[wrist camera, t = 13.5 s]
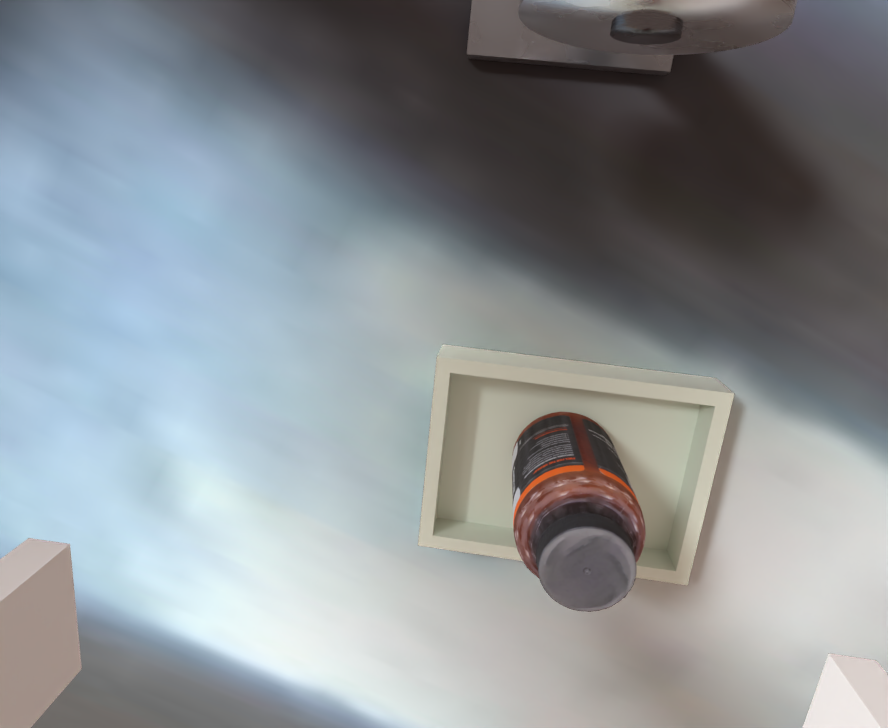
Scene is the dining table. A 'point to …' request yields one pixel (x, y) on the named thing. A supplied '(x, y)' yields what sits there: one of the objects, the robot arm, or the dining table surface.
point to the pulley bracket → (619, 31)
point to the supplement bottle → (575, 512)
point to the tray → (586, 393)
